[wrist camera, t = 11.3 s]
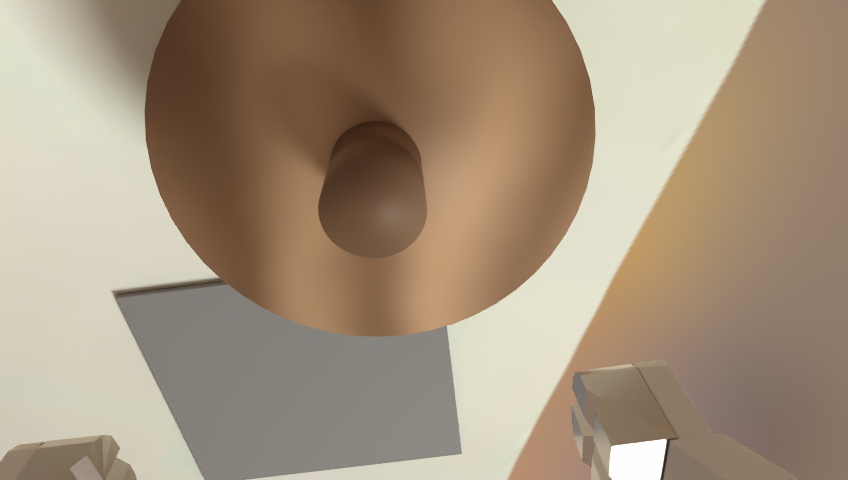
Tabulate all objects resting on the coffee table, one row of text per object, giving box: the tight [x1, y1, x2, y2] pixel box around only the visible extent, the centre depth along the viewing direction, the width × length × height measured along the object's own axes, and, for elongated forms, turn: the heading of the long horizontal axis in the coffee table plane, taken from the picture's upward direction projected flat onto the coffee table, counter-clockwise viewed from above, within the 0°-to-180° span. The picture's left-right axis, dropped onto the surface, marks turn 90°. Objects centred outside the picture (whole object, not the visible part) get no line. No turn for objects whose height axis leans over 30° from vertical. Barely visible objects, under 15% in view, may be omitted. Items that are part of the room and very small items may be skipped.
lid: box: [145, 0, 595, 337], centre depth 20 cm, size 17×17×5 cm
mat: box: [115, 282, 462, 480], centre depth 38 cm, size 20×18×1 cm
